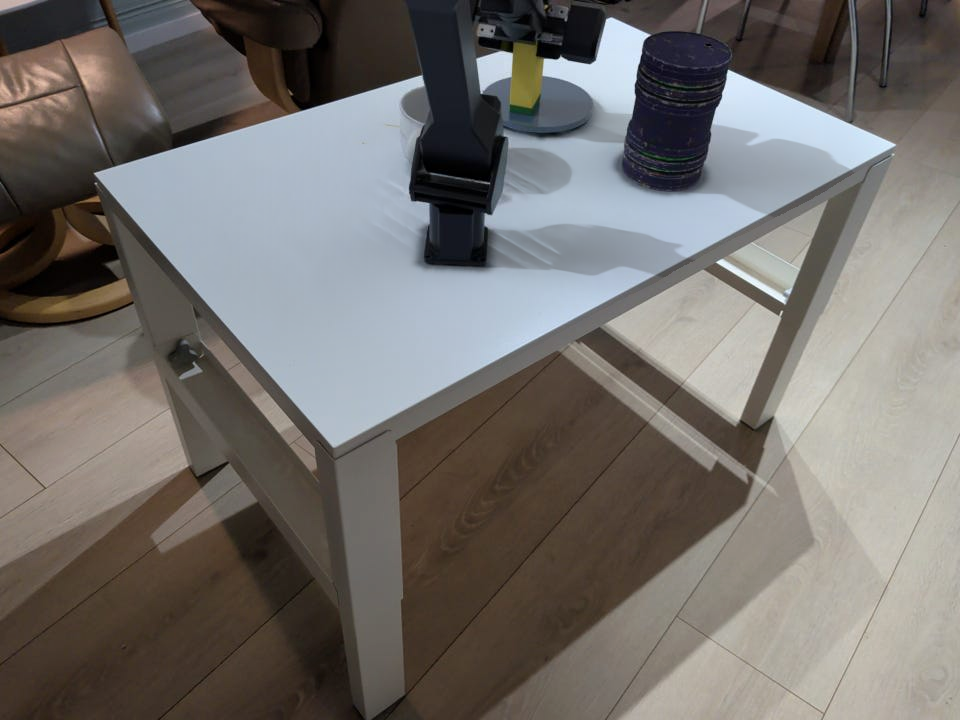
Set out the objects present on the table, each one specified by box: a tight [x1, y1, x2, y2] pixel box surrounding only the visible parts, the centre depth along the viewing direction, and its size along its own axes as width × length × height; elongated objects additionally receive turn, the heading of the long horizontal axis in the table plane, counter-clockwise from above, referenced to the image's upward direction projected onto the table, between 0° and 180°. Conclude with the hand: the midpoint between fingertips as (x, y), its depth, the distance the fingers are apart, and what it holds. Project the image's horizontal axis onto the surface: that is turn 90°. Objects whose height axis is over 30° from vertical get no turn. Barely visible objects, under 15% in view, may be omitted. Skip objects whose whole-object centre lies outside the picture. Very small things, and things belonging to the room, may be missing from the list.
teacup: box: [398, 85, 459, 179], centre depth 93 cm, size 14×11×8 cm
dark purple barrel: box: [621, 30, 733, 192], centre depth 92 cm, size 10×10×15 cm
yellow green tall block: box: [509, 5, 548, 115], centre depth 100 cm, size 3×4×14 cm, turn 162°
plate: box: [481, 75, 594, 134], centre depth 107 cm, size 15×15×1 cm
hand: (531, 52), depth 101 cm, fingers closed on yellow green tall block, 3 cm apart
